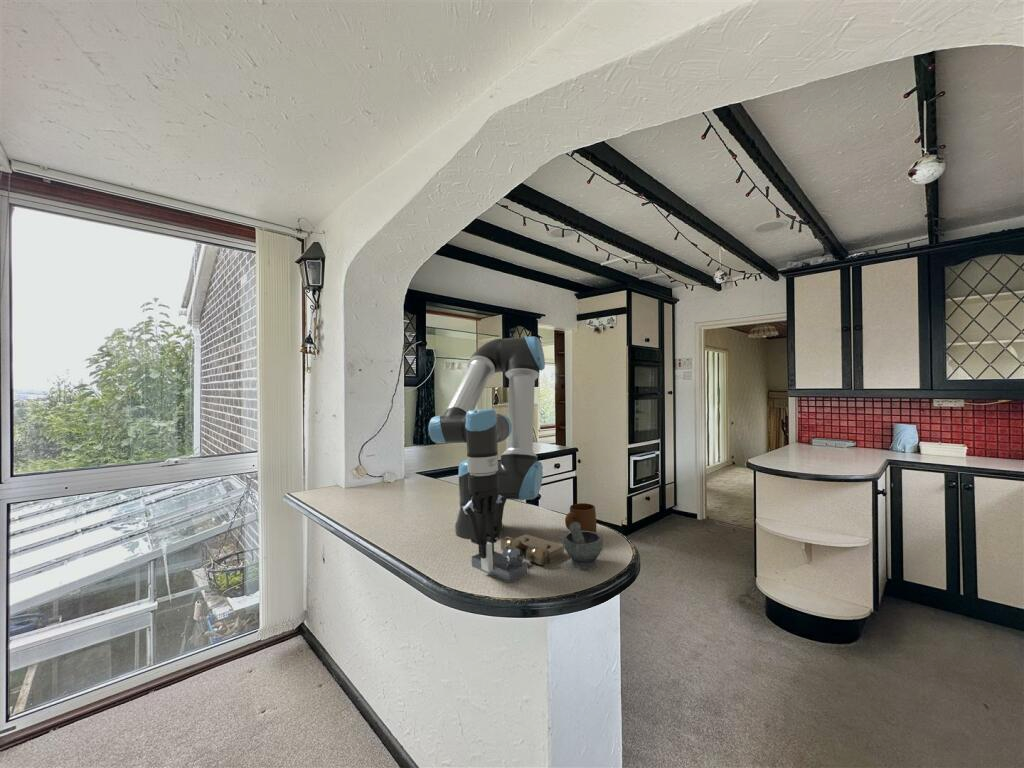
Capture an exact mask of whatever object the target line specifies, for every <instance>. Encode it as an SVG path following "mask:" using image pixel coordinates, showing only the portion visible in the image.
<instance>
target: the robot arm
mask: <svg viewBox="0 0 1024 768" xmlns="http://www.w3.org/2000/svg"><path fill="white" fill-rule="evenodd" d="M545 366H546V362H545V354H544V349H543V346H542V342H541V340H540V338H538V337H537V336H526V335H525V336H520V337H509V338H508V337H507V338H495V339H492V340H490V341H488V342H486V343H484V344H483V345H481V346H480V347H479V348H478V349H477V350H476V351H475V352H474V353H473V354H472V355H471V357H470V358H469V360H468V362H467V370H466V372H465V374H464V376H463V377H462V380H461V381H460V384H459V385H458V387H457V389H456V391H455V393H454V395H453V396H452V398H451V401H450V402H449V404H448V405H447V408H446V410H445V412H444V413H443V415H435V416H433V417H431V418H430V420H429V422H428V436H429V438H430V439H431V441H432V442H433V443H439V444H466V455H467V456H466V457H467V459H465V460H463V461H461V462H460V463H459V465H458V475H457V477H458V492H459V494H458V495H459V510H458V513H457V519H456V523H455V524H454V526H455V527H454V531H455V532H454V533H455V534H456V536H458V537H460V538H464V539H469V540H470V541H471V543H473V544H475V545H478V547H477V548H478V554H479V557H480V558H481V569H483V570H485V571H487V572H490V571H492V570H493V554H494V551H495V543H496V544H497V542H498V539H497V538H500V537H501V532H503V529H504V528H503V517H504V508H505V505H506V502H507V500H518V501H524V500H525V501H527V500H531V501H532V500H535V499H536V498H537V497H538V496H539V494H540V491H541V488H542V482H543V473H544V472H543V464H542V462H541V461H539V460H538V455H537V454H536V453H535V452H534V450H533V449H534V422H535V421H534V415H535V386H536V385H535V383H536V380H537V379H538V378H539V377H540V371H543V370H545V368H546V367H545ZM497 373H504V375H505V377H506V378H507V379H508V383H509V384H508V398H507V399H508V402H507V415H505V414H502V413H496V411H495V409H491V408H479V409H476V408H477V406H478V405H479V404H478V403H479V402H480V399H481V397H482V395H483V393H484V390H485V387H486V386H487V384H488V381H489V380H490V379H492V378H493V377H494V375H495V374H497ZM505 440H506V441H505ZM504 441H505V442H506V445H505V446H506V447H505V450H504V451H503V453H501V454H500V461H499V454H498V453H499V452H498V448H499V447H498V443H502V442H504Z"/></svg>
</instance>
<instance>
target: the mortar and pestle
mask: <svg viewBox="0 0 1024 768" xmlns="http://www.w3.org/2000/svg"><path fill="white" fill-rule="evenodd" d="M580 528H581V526H580V524H579V523H578V522H573V523H571V524H570V526H569V529H570V530H569V529H568V530H569V532H567V533H566V534H564V535H563V536H562V541H563V546H564V551H565V552H566V554H567V555H568V557H569V559H571V562H570V563H571V564H570V565H571V566H572V567H573V568H574V569H577V570H579V571H580V570H583V571H590V570H592V569H595V568H596V567H597V564H598V563H597V561H596V560H597V558H599V556H600V555H601V552H602V551H603V545H604V541H603V540H604V539H603V538H604V537H602V535H601V534H600V533H598V532H597V533H595V532H591V531H581V529H580Z"/></svg>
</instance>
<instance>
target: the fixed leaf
mask: <svg viewBox="0 0 1024 768" xmlns="http://www.w3.org/2000/svg"><path fill="white" fill-rule="evenodd" d="M507 546H512V547H515V548H517V549H520V550H522V551H523V555H525V557H526V560H527V561H529V562H531V563H534V564H537V565H539V566H546V565H547V564H548V563H552V562H554V561H556V560H557V559H560V558H562V557H563V556H565V548H564V544H563V545H561V544H559V543H555V542H553V541H549V540H547V539H546V540H545V539H543V538H540V537H537V536H533V535H531V534H523V535H520V536H518V537H516V538H513V537H510V536H505V537H504V538H502V540H501V543H500V549H501V551H503V550H504V549H505V547H507Z"/></svg>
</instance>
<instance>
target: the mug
mask: <svg viewBox="0 0 1024 768" xmlns="http://www.w3.org/2000/svg"><path fill="white" fill-rule="evenodd" d="M573 522H578V523H579V524H580V526H581V528H580V529H581V531H591V532H595V533H598V532H597V513H596V506H595V505H594V504H590V503H586V502H585V503H582V502H581V503H580V502H579V503H575V504H574V503H573V504H571V505H570V506H569V512H568V513H567V514H566V515H565V518H564V524H565V527H566V528H567V530H569V531H570V529H569V526H570V524H571V523H573Z"/></svg>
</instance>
